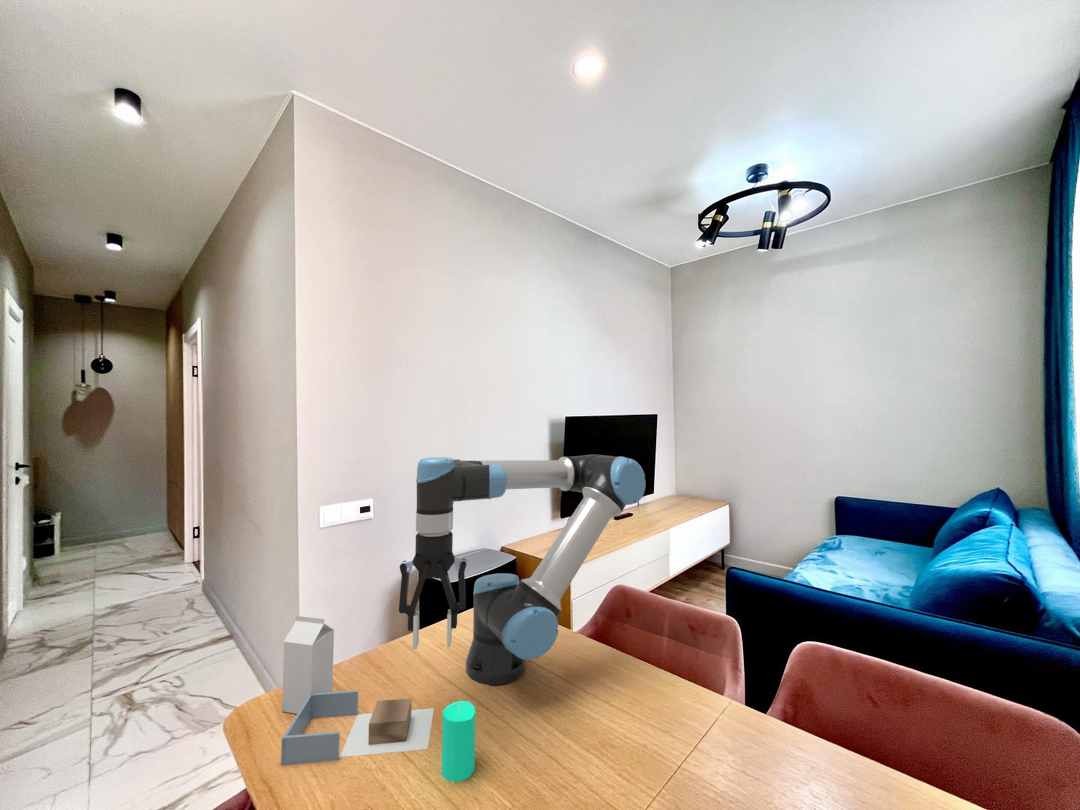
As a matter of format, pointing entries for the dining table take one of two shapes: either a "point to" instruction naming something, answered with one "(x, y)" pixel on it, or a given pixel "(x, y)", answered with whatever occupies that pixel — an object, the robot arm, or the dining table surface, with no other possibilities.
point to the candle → (458, 741)
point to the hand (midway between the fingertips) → (432, 644)
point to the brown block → (390, 721)
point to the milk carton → (307, 662)
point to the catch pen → (317, 744)
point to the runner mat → (414, 741)
